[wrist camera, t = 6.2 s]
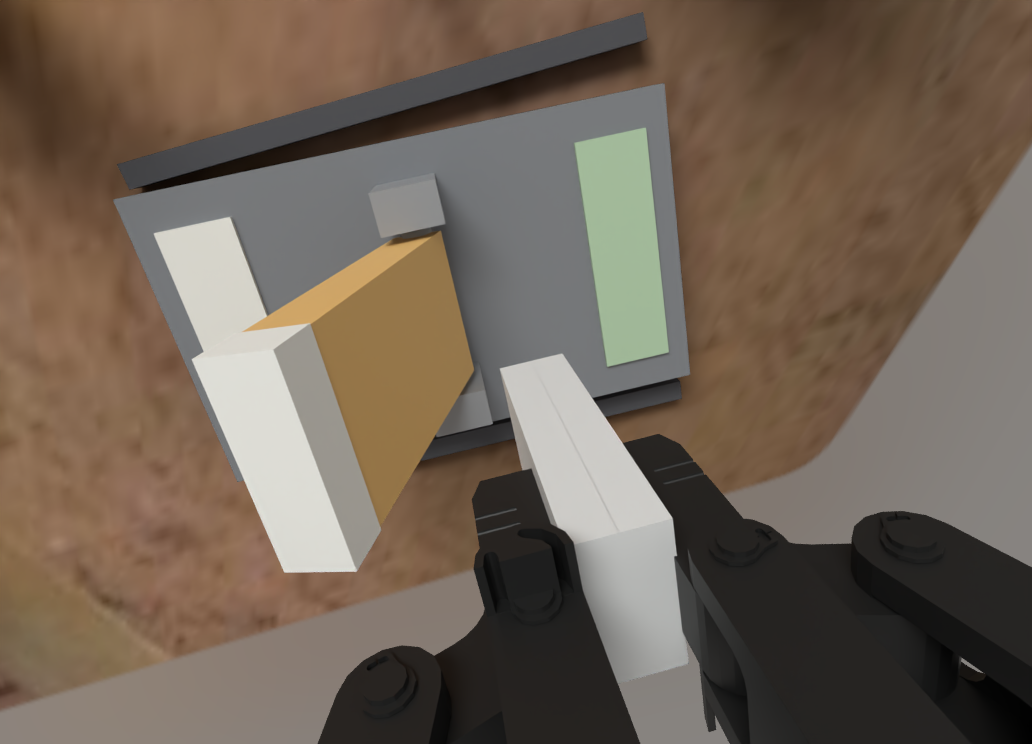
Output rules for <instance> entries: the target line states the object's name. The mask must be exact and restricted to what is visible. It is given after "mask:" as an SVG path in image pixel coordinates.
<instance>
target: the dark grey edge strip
mask: <svg viewBox="0 0 1032 744" xmlns="http://www.w3.org/2000/svg"><path fill="white" fill-rule="evenodd" d="M592 399H593V400H594V402H595V403H596V405H597V406H598V408H599V409H600V411H601V412H602V414H603V415H604V417H607V416H611V415H615V414H619V413H623V412H628V411H632V410H636V409H640V408H644V407H649V406H653V405H657V404H661V403H665V402H669V401H674V400H678V399H682V396H681V385H680V381H679V380H678V379H677V378H674V379H670V380H665V381H661V382H657V383H653V384H648V385H644V386H640V387H636V388H632V389H627V390H623V391H619V392H615V393H611V394H606V395H602V396H598V397H594V398H592ZM492 422H493V424H491V425H487V426H482V427H478V428H474V429H470V430H466V431H461V432H457V433H453V434H449V435H445V436H440V437H436V435H435V437H434V438H433V440H432V442H431V443H430V445H429V447H428V448H427V450H426V452H425V453H424V455H423V457H422V458H421V460H420V461H423V460H427V459H431V458H435V457H439V456H443V455H448V454H452V453H456V452H460V451H464V450H469V449H473V448H477V447H481V446H485V445H489V444H494V443H498V442H502V441H506V440H510V439H515V435H514V431H513V426H512V421H511V417H509V418H505V419H501V420H497V421H492Z"/></svg>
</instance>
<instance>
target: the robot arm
mask: <svg viewBox="0 0 1032 744" xmlns="http://www.w3.org/2000/svg"><path fill="white" fill-rule="evenodd" d="M500 372H501V376H502V381H503V385H504V390H505V394H506V399H507V403H508V408H509V412H510V417H511V421H512V426H513V431H514V435H515V440H516V444H517V449H518V453H519V458H520V462H521V467H522V470H523V471H519V472H515V473H511V474H507V475H503V476H499V477H495V478H491V479H487V480H483V481H480V483H479V485H478V487H477V490H476V492H475V494H474V496H473V498H472V503H473V509H474V515H475V520H476V528H477V533H478V540H479V546H480V549H479V551H478V552H477V554H476V556H475V563H474V572H475V575H476V579H477V582H478V586H479V589H480V593H481V597H482V600H483V604H484V607H485V610H484V614H483V616H482V617H481V619H480V620H479V622H478V624H477V625H476V626H475V627H474V628H473V629H472V630H471V631H470V632H469V633H468V634H467V636H465V637H464V638H463V639H461V640H460V641H458V642H457V643H455V644H454V645H452V646H450V647H449V648H447V649H445V650H444V651H442V652H440V653H438V654H437V655H435V656H433V655H432V654H430V653H429V652H427V651H425V650H423V649H422V648H420V647H412V646H398V647H394V648H389V649H385V650H382V651H380V652H378V653H376V654H375V655H373V656H371V657H369V658H367V659H366V660H364V661H363V662H361V663H360V664H359V665H358V666H357V667H356V668H355V669H354V670H353V671H352V672H351V673H350V674H349V675H348V676H347V678H346V679H345V681H344V683H343V684H342V686H341V688H340V689H339V691H338V693H337V695H336V698H335V700H334V703H333V705H332V708H331V710H330V713H329V716H328V718H327V721H326V724H325V726H324V729H323V731H322V734H321V736H320V739H319V741H318V744H640V742H639V739H638V737H637V734H636V731H635V729H634V726H633V723H632V721H631V718H630V715H629V713H628V710H627V707H626V705H625V702H624V699H623V697H622V694H621V691H620V688H619V686H618V684H620V683H623V682H627V681H630V680H634V679H638V678H641V677H645V676H648V675H652V674H655V673H659V672H662V671H666V670H669V669H673V668H676V667H679V666H683V665H687V664H689V661H688V652H687V643H686V639H687V641H688V643H689V645H690V647H691V648H692V650H693V652H694V654H695V656H696V658H697V660H698V662H699V664H700V674H701V683H702V694H703V703H704V714H705V720H706V723H707V727H708V731H709V732H711V731H714V730H716V725H715V716H716V718H717V720H718V722H719V724H720V726H721V727H722V729H723V731H724V733H725V735H726V737H727V739H728V741H729V743H730V744H1032V567H1030V566H1028V565H1026V564H1024V563H1022V562H1020V561H1019V560H1017V559H1015V558H1013V557H1011V556H1009V555H1007V554H1005V553H1003V552H1001V551H999V550H997V549H995V548H993V547H991V546H990V545H988V544H986V543H984V542H982V541H980V540H978V539H976V538H974V537H972V536H970V535H968V534H966V533H964V532H962V531H961V530H959V529H957V528H955V527H953V526H951V525H949V524H947V523H944V522H942V521H939V520H937V519H934V518H932V517H929V516H926V515H921V514H916V513H910V512H905V511H898V512H897V511H894V512H880V513H877V514H874V515H870V516H867V517H865V518H863V519H862V520H861V521H860V522H859V523H857V524H856V525H855V526H854V530H853V535H852V544H816V545H809V544H793V543H789V542H788V541H787V540H786V539H785V538H784V537H783V536H782V535H781V534H780V533H778V532H777V531H776V530H774V529H773V528H772V527H770V526H768V525H766V524H763V523H760V522H757V521H755V520H751V519H743V518H742V516H741V515H740V514H739V513H738V512H737V511H736V509H735V508H734V507H733V506H732V505H731V504H730V502H729V501H728V500H727V499H726V498H725V496H724V495H723V494H722V493H721V492H720V491H719V489H718V488H717V487H716V486H715V485H714V484H713V482H712V481H711V480H710V479H709V478H708V476H707V475H704V473H703V471H702V469H701V468H700V467H699V466H698V465H697V464H696V462H693V459H692V458H691V456H690V455H689V454H688V453H687V452H686V451H685V449H684V448H683V447H682V446H681V445H680V444H679V443H677V442H675V441H672V440H670V439H668V438H666V437H664V436H662V435H660V434H657V435H653V436H649V437H645V438H641V439H637V440H633V441H629V442H625V443H622V442H621V440H620V439H619V437H618V436H617V434H616V433H615V431H614V430H613V429H612V427H611V426H610V424H609V423H608V421H607V420H606V418H605V417H604V415H603V414H602V412H601V411H600V409H599V408H598V406H597V405H596V403H595V402H594V400H593V399H592V397H591V396H590V394H589V393H588V391H587V390H586V388H585V387H584V385H583V384H582V382H581V381H580V379H579V378H578V376H577V375H576V373H575V372H574V370H573V369H572V367H571V366H570V364H569V363H568V361H567V360H566V358H565V357H564V355H563V354H558V355H554V356H549V357H545V358H541V359H537V360H533V361H529V362H525V363H520V364H516V365H512V366H508V367H504V368H500ZM961 658H963V659H965V660H966V661H967V662H969V663H970V664H972V665H973V666H975V667H976V668H978V669H979V670H980V671H982V672H983V673H980V672H977V671H975V670H974V669H972V668H970V667H968V666H967V665H965V664H964V663H962V662H961Z"/></svg>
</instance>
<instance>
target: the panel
mask: <svg viewBox="0 0 1032 744" xmlns="http://www.w3.org/2000/svg"><path fill="white" fill-rule="evenodd" d="M113 201H114V203H115V205H116V208H117V210H118V212H119V214H120V217H121V219H122V221H123V223H124V226H125V228H126V230H127V232H128V235H129V237H130V239H131V242H132V244H133V246H134V248H135V251H136V253H137V255H138V257H139V260H140V262H141V264H142V266H143V269H144V271H145V273H146V275H147V278H148V280H149V282H150V285H151V287H152V289H153V291H154V294H155V296H156V298H157V300H158V303H159V305H160V307H161V309H162V312H163V314H164V316H165V319H166V321H167V323H168V325H169V328H170V330H171V332H172V334H173V337H174V339H175V341H176V343H177V346H178V348H179V350H180V352H181V355H182V357H183V359H184V362H185V364H186V366H187V368H188V371H189V373H190V375H191V377H192V380H193V382H194V384H195V386H196V389H197V391H198V393H199V396H200V398H201V400H202V402H203V405H204V407H205V409H206V411H207V414H208V416H209V418H210V420H211V423H212V425H213V427H214V429H215V432H216V434H217V436H218V439H219V441H220V443H221V445H222V448H223V450H224V452H225V454H226V457H227V459H228V461H229V463H230V466H231V468H232V470H233V473H234V475H235V477H236V479H237V482H239V481H243V480H244V479H243V476H242V474H241V472H240V469H239V467H238V465H237V462H236V460H235V458H234V456H233V453H232V451H231V449H230V446H229V444H228V442H227V440H226V437H225V435H224V433H223V430H222V428H221V426H220V423H219V421H218V419H217V417H216V414H215V412H214V410H213V407H212V405H211V403H210V401H209V398H208V396H207V394H206V391H205V389H204V387H203V384H202V382H201V380H200V378H199V375H198V373H197V371H196V368H195V366H194V364H193V362H192V359H193V358H195V357H196V356H198V355H200V354H201V353H203V352H204V351H206V350H208V349H209V348H211V347H213V346H214V345H216V344H218V343H219V342H221V341H223V340H224V339H226V338H227V337H229V336H231V335H232V334H234V333H239V332H242V331H244V330H246V329H247V328H249V327H251V326H252V325H254V324H255V323H257V322H259V321H260V320H262V319H264V318H265V317H267V316H268V315H270V314H272V313H273V312H275V311H277V310H278V309H280V308H281V307H283V306H285V305H286V304H288V303H290V302H291V301H293V300H294V299H296V298H298V297H299V296H301V295H302V294H304V293H306V292H307V291H309V290H311V289H312V288H314V287H315V286H317V285H319V284H320V283H322V282H324V281H325V280H327V279H328V278H330V277H332V276H333V275H335V274H337V273H338V272H340V271H341V270H343V269H345V268H346V267H348V266H350V265H351V264H353V263H354V262H356V261H358V260H359V259H361V258H362V257H364V256H366V255H367V254H369V253H371V252H372V251H374V250H375V249H377V248H379V247H380V246H382V245H384V244H385V243H387V242H388V241H390V240H392V239H393V238H398V237H402V236H401V234H402V233H407V232H411V231H416V230H420V229H425V228H430V227H431V229H432V232H435V231H441V234H442V238H443V242H444V246H445V250H446V255H447V259H448V263H449V267H450V271H451V275H452V279H453V284H454V288H455V292H456V296H457V300H458V304H459V309H460V313H461V317H462V321H463V325H464V329H465V334H466V338H467V342H468V346H469V350H470V354H471V359H472V363H473V367H474V372H473V373H472V375H471V377H470V378H469V380H468V382H467V383H466V385H465V387H464V388H463V390H462V392H461V393H460V395H459V397H458V398H457V400H456V402H455V403H454V405H453V407H452V408H451V410H450V412H449V413H448V415H447V417H446V418H445V420H444V422H443V423H442V425H441V427H440V428H439V430H438V432H437V433H436V437H440V436H445V435H449V434H453V433H457V432H461V431H466V430H470V429H474V428H478V427H482V426H487V425H491V424H493V422H492V421H497V420H501V419H505V418H509V417H510V412H509V408H508V403H507V399H506V394H505V390H504V385H503V381H502V376H501V372H500V368H504V367H508V366H512V365H516V364H520V363H525V362H529V361H533V360H537V359H541V358H545V357H549V356H554V355H558V354H563V355H564V357H565V358H566V360H567V361H568V363H569V364H570V366H571V367H572V369H573V370H574V372H575V373H576V375H577V376H578V378H579V379H580V381H581V382H582V384H583V385H584V387H585V388H586V390H587V391H588V393H589V394H590V396H591V397H592V398H594V397H598V396H602V395H606V394H611V393H615V392H619V391H623V390H627V389H632V388H636V387H640V386H644V385H648V384H653V383H657V382H661V381H665V380H670V379H674V378H678V377H682V376H686V375H690V368H689V356H688V345H687V334H686V323H685V311H684V300H683V289H682V277H681V266H680V255H679V244H678V232H677V221H676V210H675V199H674V187H673V176H672V165H671V154H670V142H669V131H668V120H667V108H666V97H665V86H664V83H662V84H657V85H652V86H646V87H641V88H637V89H632V90H627V91H622V92H618V93H613V94H608V95H604V96H599V97H594V98H589V99H585V100H580V101H575V102H570V103H566V104H561V105H556V106H552V107H547V108H542V109H537V110H533V111H528V112H523V113H518V114H514V115H509V116H504V117H500V118H495V119H490V120H485V121H481V122H476V123H471V124H466V125H462V126H457V127H452V128H448V129H443V130H438V131H433V132H429V133H424V134H419V135H415V136H410V137H405V138H400V139H396V140H391V141H386V142H381V143H377V144H372V145H367V146H363V147H358V148H353V149H348V150H344V151H339V152H334V153H329V154H325V155H320V156H315V157H311V158H306V159H301V160H296V161H292V162H287V163H282V164H277V165H273V166H268V167H263V168H259V169H254V170H249V171H244V172H240V173H235V174H230V175H225V176H221V177H216V178H211V179H207V180H202V181H197V182H192V183H188V184H183V185H178V186H173V187H169V188H164V189H159V190H155V191H150V192H145V193H140V194H136V195H132V196H127V197H123V198H118V199H114V200H113Z"/></svg>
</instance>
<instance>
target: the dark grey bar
mask: <svg viewBox="0 0 1032 744" xmlns="http://www.w3.org/2000/svg"><path fill="white" fill-rule="evenodd" d="M646 39H647V34H646V27H645V21H644V15H643V12H641V13H638V14H634V15H631V16H628V17H624V18H621V19H617V20H614V21H610V22H607V23H603V24H600V25H597V26H593V27H590V28H586V29H583V30H579V31H576V32H572V33H569V34H565V35H562V36H559V37H555V38H552V39H548V40H545V41H541V42H538V43H534V44H531V45H527V46H524V47H521V48H517V49H514V50H510V51H507V52H503V53H500V54H496V55H493V56H489V57H486V58H483V59H479V60H476V61H472V62H469V63H465V64H462V65H458V66H455V67H452V68H448V69H445V70H441V71H438V72H434V73H431V74H427V75H424V76H420V77H417V78H414V79H410V80H407V81H403V82H400V83H396V84H393V85H389V86H386V87H382V88H379V89H376V90H372V91H369V92H365V93H362V94H358V95H355V96H351V97H348V98H345V99H341V100H338V101H334V102H331V103H327V104H324V105H320V106H317V107H313V108H310V109H307V110H303V111H300V112H296V113H293V114H289V115H286V116H282V117H279V118H275V119H272V120H269V121H265V122H262V123H258V124H255V125H251V126H248V127H244V128H241V129H237V130H234V131H231V132H227V133H224V134H220V135H217V136H213V137H210V138H206V139H203V140H200V141H196V142H193V143H189V144H186V145H182V146H179V147H175V148H172V149H168V150H165V151H162V152H158V153H155V154H151V155H148V156H144V157H141V158H137V159H134V160H130V161H127V162H124V163H120V164H117V166H118V168H119V170H120V172H121V174H122V175H123V177H124V179H125V181H126V183H127V185H128V187H129V189H135V188H140V187H143V186H147V185H150V184H154V183H157V182H160V181H164V180H167V179H171V178H174V177H178V176H181V175H185V174H188V173H191V172H195V171H198V170H202V169H205V168H209V167H212V166H215V165H219V164H222V163H226V162H229V161H233V160H236V159H240V158H243V157H246V156H250V155H253V154H257V153H260V152H264V151H267V150H270V149H274V148H277V147H281V146H284V145H288V144H291V143H295V142H298V141H301V140H305V139H308V138H312V137H315V136H319V135H322V134H325V133H329V132H332V131H336V130H339V129H343V128H346V127H350V126H353V125H356V124H360V123H363V122H367V121H370V120H374V119H377V118H381V117H384V116H387V115H391V114H394V113H398V112H401V111H405V110H408V109H411V108H415V107H418V106H422V105H425V104H429V103H432V102H436V101H439V100H442V99H446V98H449V97H453V96H456V95H460V94H463V93H466V92H470V91H473V90H477V89H480V88H484V87H487V86H491V85H494V84H497V83H501V82H504V81H508V80H511V79H515V78H518V77H521V76H525V75H528V74H532V73H535V72H539V71H542V70H546V69H549V68H552V67H556V66H559V65H563V64H566V63H570V62H573V61H577V60H580V59H583V58H587V57H590V56H594V55H597V54H601V53H604V52H607V51H611V50H614V49H618V48H621V47H625V46H628V45H632V44H635V43H638V42H641V41H644V40H646Z"/></svg>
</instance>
